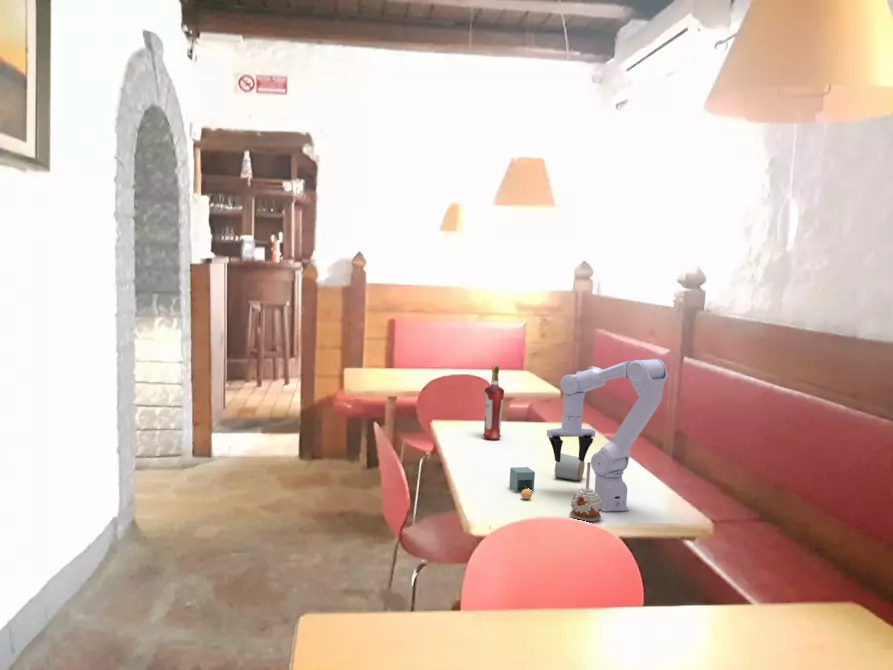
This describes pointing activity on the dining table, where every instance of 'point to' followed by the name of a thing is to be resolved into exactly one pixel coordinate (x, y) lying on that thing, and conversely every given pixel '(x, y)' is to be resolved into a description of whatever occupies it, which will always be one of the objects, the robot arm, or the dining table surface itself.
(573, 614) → the dining table surface
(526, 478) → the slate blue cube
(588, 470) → the caramel apple
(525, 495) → the orange ball
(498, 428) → the liquor
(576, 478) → the ceramic mug
